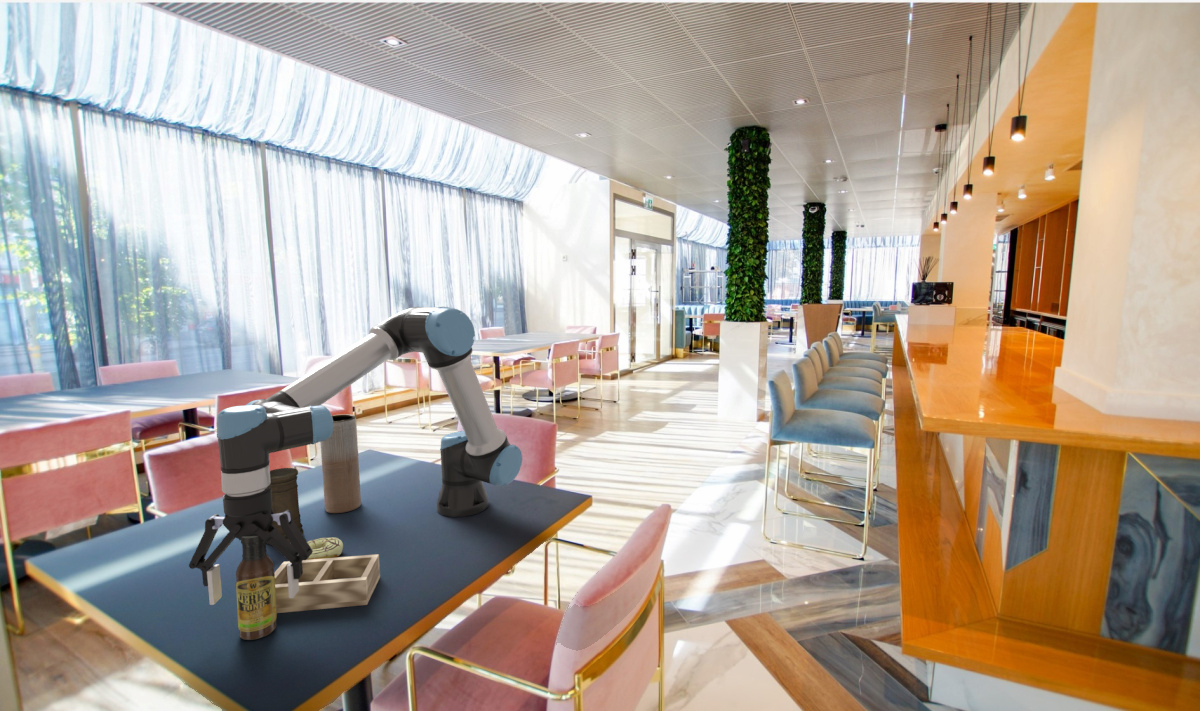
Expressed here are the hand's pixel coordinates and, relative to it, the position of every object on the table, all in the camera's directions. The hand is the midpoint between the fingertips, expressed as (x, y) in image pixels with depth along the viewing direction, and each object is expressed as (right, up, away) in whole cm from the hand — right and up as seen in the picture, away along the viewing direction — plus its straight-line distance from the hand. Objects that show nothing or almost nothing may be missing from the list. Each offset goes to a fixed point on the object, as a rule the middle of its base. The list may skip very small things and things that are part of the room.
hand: (255, 597), depth 100 cm
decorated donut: (-4, -4, +30) cm, 30 cm away
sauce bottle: (0, -7, +1) cm, 7 cm away
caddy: (+6, -6, +14) cm, 16 cm away
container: (-18, -3, +40) cm, 44 cm away
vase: (-13, 0, +60) cm, 62 cm away
